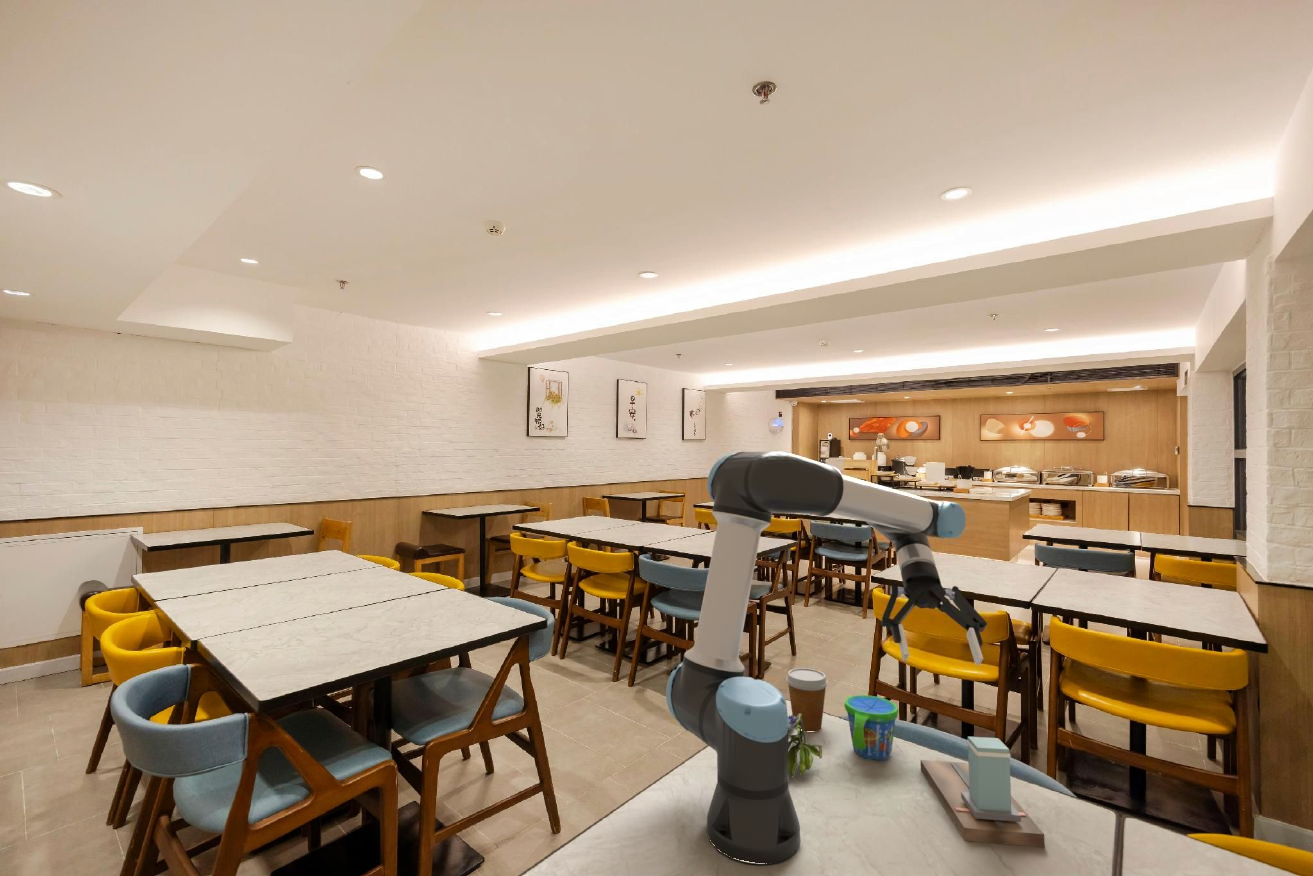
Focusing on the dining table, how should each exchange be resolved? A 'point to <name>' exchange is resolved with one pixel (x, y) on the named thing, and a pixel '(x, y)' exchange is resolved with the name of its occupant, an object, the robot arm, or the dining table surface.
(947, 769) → the fader track
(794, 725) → the passion flower
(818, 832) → the dining table surface
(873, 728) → the snack cup
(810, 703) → the disposable coffee cup
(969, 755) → the cap
